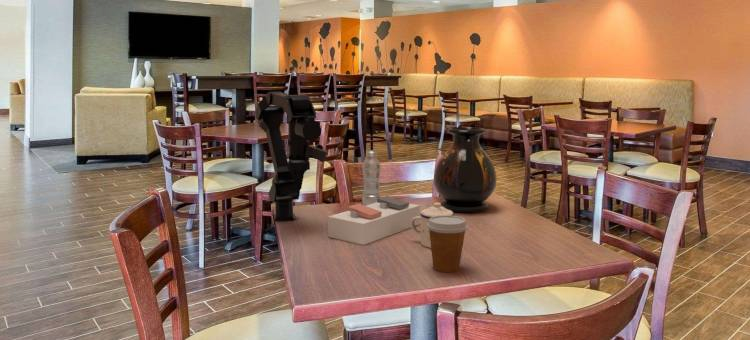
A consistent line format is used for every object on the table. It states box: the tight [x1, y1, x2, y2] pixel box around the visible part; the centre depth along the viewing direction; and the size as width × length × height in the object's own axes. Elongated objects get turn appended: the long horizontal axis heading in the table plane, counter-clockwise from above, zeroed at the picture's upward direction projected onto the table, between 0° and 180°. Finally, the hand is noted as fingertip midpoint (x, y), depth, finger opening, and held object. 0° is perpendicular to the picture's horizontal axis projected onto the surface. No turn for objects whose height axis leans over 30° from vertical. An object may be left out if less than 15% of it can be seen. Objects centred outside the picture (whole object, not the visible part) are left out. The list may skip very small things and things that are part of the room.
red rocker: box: [347, 203, 382, 219], centre depth 163 cm, size 8×5×1 cm, turn 53°
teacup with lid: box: [411, 201, 455, 249], centre depth 156 cm, size 12×9×12 cm
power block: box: [327, 202, 421, 246], centre depth 170 cm, size 13×28×8 cm, turn 143°
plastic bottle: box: [361, 149, 382, 206], centre depth 198 cm, size 6×7×20 cm
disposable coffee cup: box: [427, 215, 468, 273], centre depth 136 cm, size 10×10×12 cm
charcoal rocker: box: [377, 195, 410, 209], centre depth 174 cm, size 8×5×1 cm, turn 53°
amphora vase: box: [433, 126, 497, 214], centre depth 197 cm, size 22×22×28 cm
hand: (299, 189), depth 171 cm, fingers closed
